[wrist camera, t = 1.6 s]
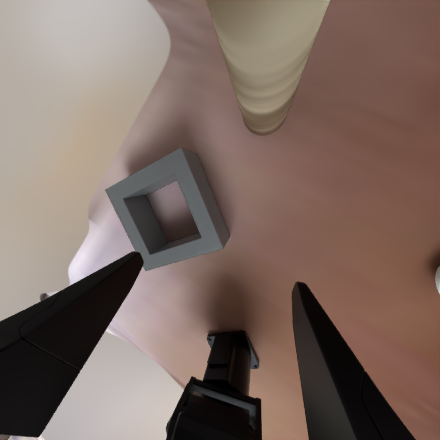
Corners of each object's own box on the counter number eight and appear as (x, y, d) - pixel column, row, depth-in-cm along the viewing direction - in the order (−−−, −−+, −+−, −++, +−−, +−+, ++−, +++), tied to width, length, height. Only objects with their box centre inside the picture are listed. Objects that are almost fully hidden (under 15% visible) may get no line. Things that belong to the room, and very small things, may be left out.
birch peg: (293, 122, 16) (373, -23, 5) (251, 142, 18) (230, 71, 6) (279, 77, 16) (329, -224, 4) (237, 102, 17) (182, -67, 5)
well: (230, 236, 21) (223, 248, 17) (163, 256, 24) (145, 271, 21) (196, 153, 19) (181, 147, 16) (130, 188, 23) (105, 189, 19)
